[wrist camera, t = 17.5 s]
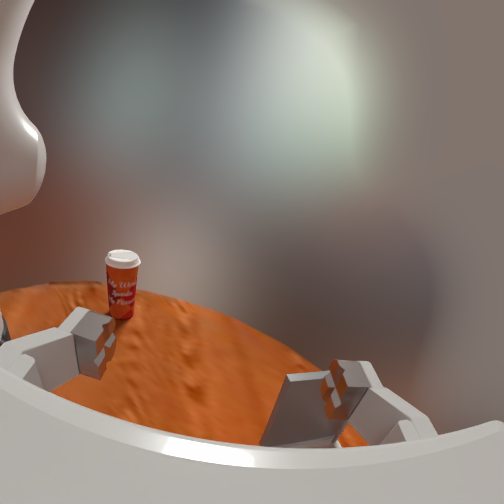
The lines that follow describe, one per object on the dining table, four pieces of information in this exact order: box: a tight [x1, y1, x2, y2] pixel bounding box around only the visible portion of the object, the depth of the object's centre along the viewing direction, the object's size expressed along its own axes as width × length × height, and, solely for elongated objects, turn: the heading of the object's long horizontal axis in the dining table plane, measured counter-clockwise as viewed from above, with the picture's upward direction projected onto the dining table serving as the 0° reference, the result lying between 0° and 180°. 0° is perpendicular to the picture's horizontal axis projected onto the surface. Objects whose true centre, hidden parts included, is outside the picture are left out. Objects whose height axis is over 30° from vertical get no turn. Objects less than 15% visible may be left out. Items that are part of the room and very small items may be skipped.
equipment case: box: [259, 371, 349, 448], centre depth 28 cm, size 12×14×16 cm
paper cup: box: [105, 250, 141, 320], centre depth 59 cm, size 8×8×14 cm
